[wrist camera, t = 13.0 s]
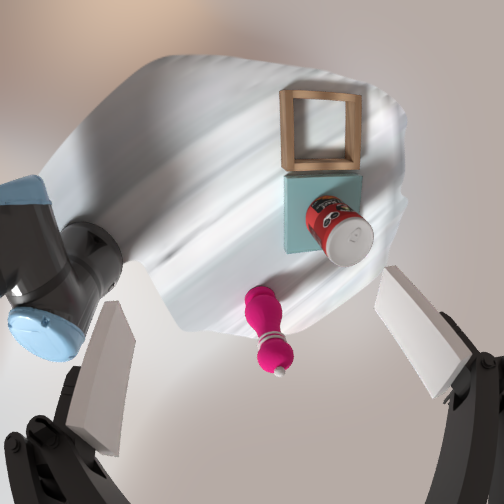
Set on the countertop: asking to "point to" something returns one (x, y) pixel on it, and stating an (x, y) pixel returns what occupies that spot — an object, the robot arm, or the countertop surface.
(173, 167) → the countertop surface
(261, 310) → the pepper mill
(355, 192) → the plate
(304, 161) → the collar
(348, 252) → the canned food
